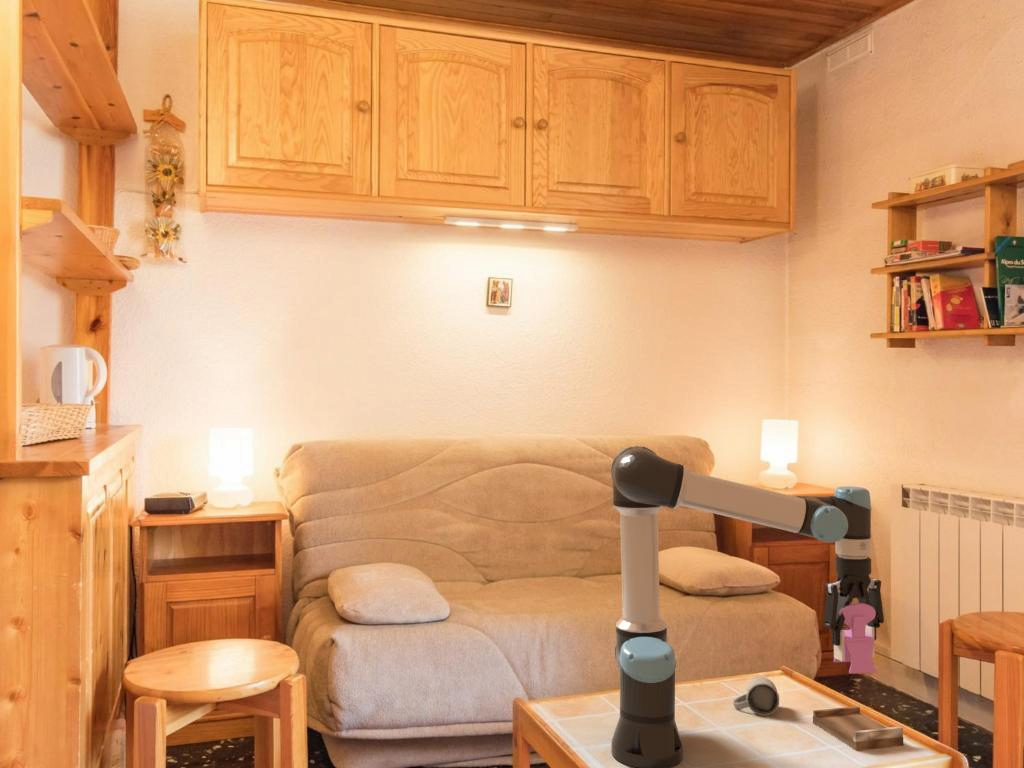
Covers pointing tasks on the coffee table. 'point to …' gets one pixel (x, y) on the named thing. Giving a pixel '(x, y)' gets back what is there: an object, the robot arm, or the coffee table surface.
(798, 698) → the coffee table surface
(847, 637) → the toy chair
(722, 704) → the coffee table surface
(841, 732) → the shelf board
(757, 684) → the ceramic mug
